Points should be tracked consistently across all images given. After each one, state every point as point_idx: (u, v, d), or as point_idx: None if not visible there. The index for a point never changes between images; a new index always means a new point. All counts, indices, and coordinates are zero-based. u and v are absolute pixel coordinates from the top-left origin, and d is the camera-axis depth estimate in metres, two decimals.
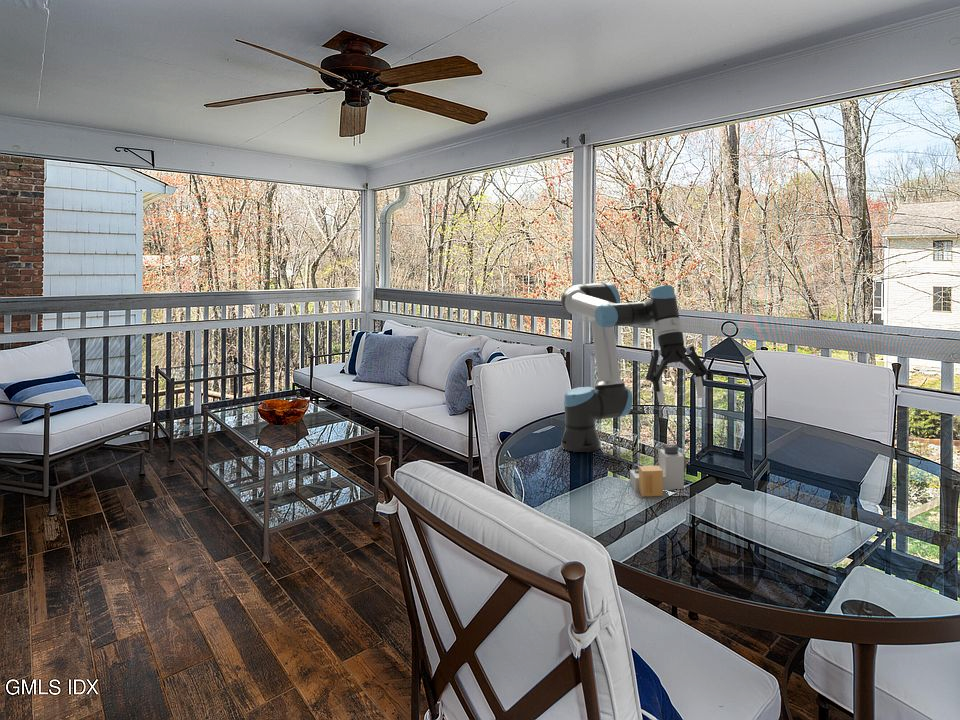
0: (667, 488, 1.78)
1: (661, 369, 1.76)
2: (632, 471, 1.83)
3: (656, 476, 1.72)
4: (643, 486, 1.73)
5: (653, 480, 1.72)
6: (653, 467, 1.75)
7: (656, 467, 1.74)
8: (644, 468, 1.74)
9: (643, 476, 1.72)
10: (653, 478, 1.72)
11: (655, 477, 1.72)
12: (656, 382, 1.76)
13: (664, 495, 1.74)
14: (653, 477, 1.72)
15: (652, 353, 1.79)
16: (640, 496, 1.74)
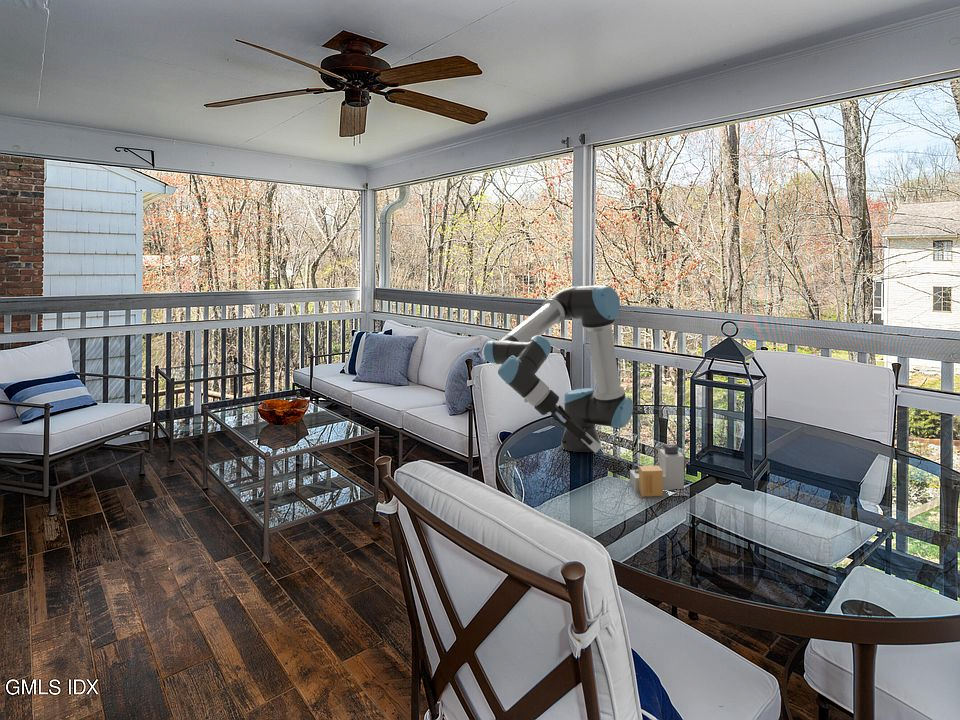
0: (667, 488, 1.78)
1: None
2: (632, 471, 1.83)
3: (656, 476, 1.72)
4: (643, 486, 1.73)
5: (653, 480, 1.72)
6: (653, 467, 1.75)
7: (656, 467, 1.74)
8: (644, 468, 1.74)
9: (643, 476, 1.72)
10: (653, 478, 1.72)
11: (655, 477, 1.72)
12: None
13: (664, 495, 1.74)
14: (653, 477, 1.72)
15: None
16: (640, 496, 1.74)
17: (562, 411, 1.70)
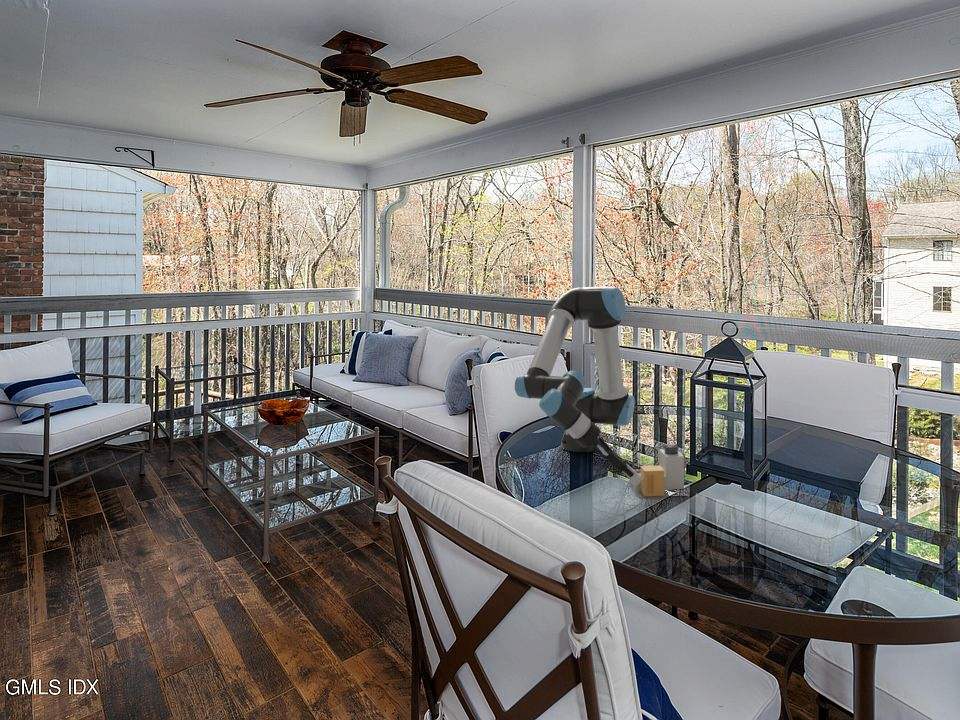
0: (667, 488, 1.78)
1: None
2: None
3: (658, 476, 1.72)
4: (645, 486, 1.73)
5: (655, 480, 1.72)
6: (655, 467, 1.75)
7: (658, 467, 1.74)
8: (646, 468, 1.74)
9: (645, 476, 1.72)
10: (655, 478, 1.72)
11: (656, 477, 1.72)
12: None
13: (664, 495, 1.74)
14: (655, 477, 1.72)
15: None
16: (640, 496, 1.74)
17: (603, 444, 1.70)
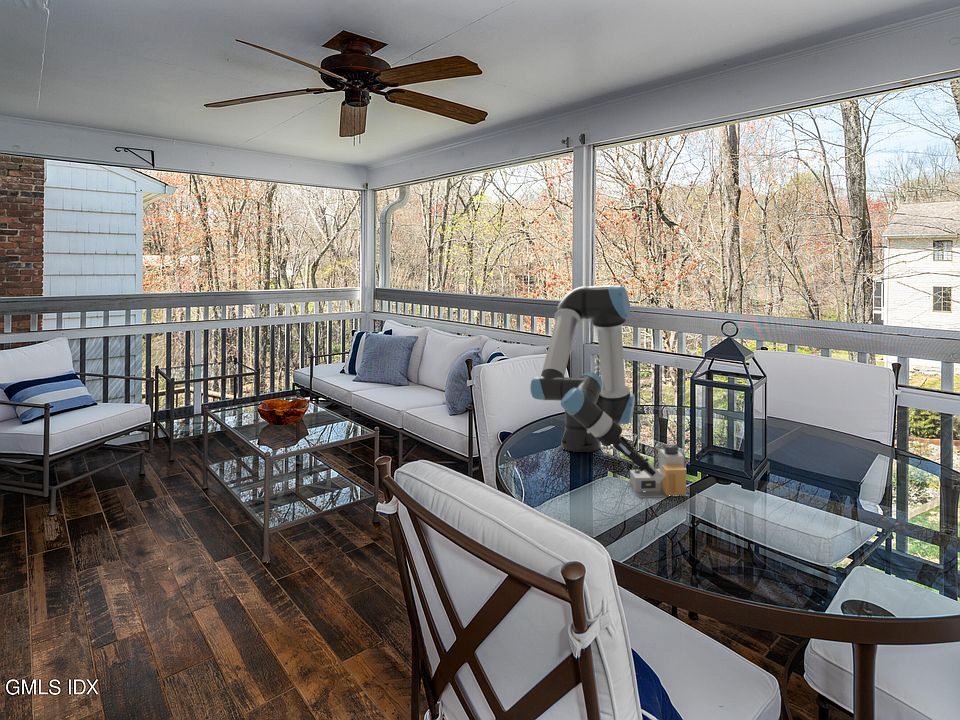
0: None
1: None
2: (632, 471, 1.83)
3: (680, 475, 1.72)
4: (666, 485, 1.72)
5: (677, 479, 1.72)
6: (676, 466, 1.74)
7: (680, 466, 1.74)
8: (667, 467, 1.74)
9: (667, 475, 1.72)
10: (677, 477, 1.72)
11: (678, 476, 1.72)
12: None
13: (664, 495, 1.74)
14: (677, 476, 1.72)
15: None
16: (640, 496, 1.74)
17: (625, 442, 1.70)
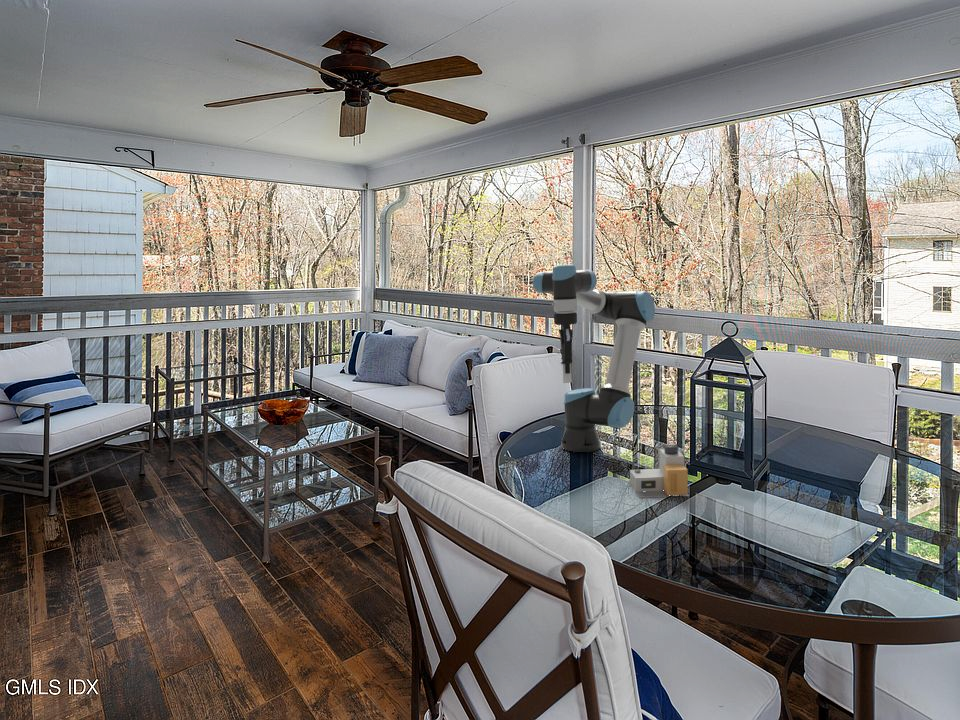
0: None
1: (562, 350, 1.91)
2: (632, 471, 1.83)
3: (681, 475, 1.72)
4: (668, 485, 1.72)
5: (678, 479, 1.72)
6: (678, 466, 1.74)
7: (681, 466, 1.74)
8: (669, 467, 1.74)
9: (668, 475, 1.72)
10: (678, 477, 1.72)
11: (680, 476, 1.72)
12: None
13: (664, 495, 1.74)
14: (678, 476, 1.72)
15: None
16: (640, 496, 1.74)
17: (570, 333, 1.87)
